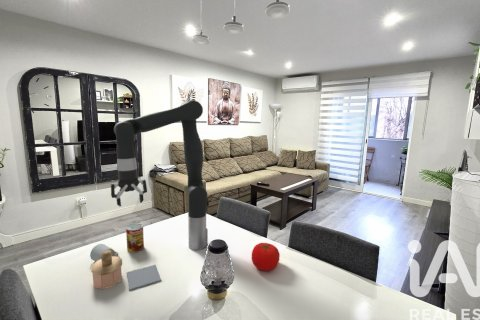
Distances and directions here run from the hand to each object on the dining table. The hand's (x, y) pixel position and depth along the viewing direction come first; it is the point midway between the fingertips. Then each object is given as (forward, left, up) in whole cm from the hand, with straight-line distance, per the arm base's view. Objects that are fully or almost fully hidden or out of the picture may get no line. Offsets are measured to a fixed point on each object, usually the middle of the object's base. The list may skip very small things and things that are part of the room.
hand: (130, 204), depth 105 cm
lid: (+11, +8, -23) cm, 26 cm away
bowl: (+11, +8, -29) cm, 31 cm away
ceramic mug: (+11, -9, -29) cm, 32 cm away
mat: (-2, +13, -29) cm, 31 cm away
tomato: (-52, +31, -29) cm, 67 cm away
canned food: (-2, -13, -29) cm, 32 cm away
